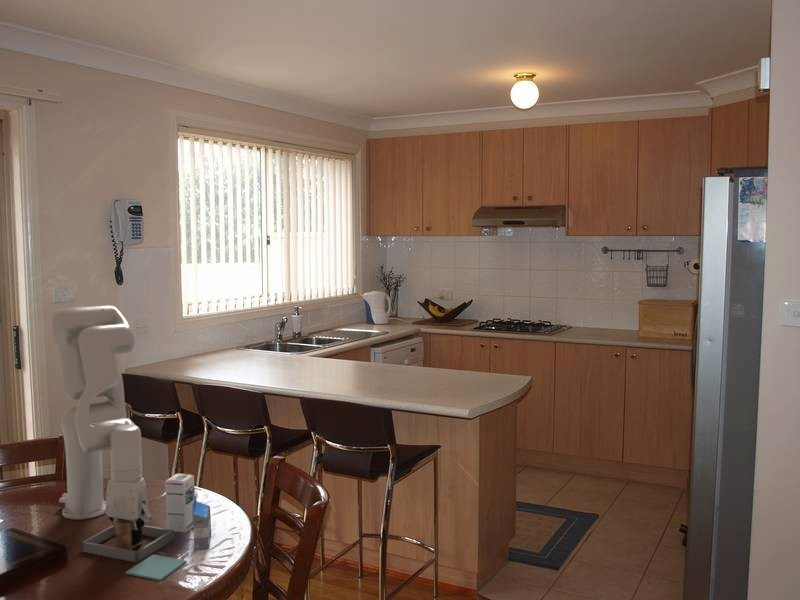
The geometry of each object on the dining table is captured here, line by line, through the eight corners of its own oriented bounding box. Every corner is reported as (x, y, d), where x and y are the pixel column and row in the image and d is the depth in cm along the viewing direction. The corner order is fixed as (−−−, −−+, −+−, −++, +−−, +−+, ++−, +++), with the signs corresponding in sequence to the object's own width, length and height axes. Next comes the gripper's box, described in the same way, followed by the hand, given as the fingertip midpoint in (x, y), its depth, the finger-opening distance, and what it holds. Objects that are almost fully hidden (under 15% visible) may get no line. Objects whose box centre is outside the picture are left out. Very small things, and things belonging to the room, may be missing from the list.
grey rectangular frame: (81, 551, 184) (81, 542, 183) (121, 529, 197) (120, 520, 197) (137, 562, 178) (137, 552, 178) (174, 539, 191) (173, 530, 191)
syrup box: (186, 533, 195) (185, 481, 194) (166, 531, 196) (164, 479, 195) (196, 524, 201) (195, 474, 199) (176, 522, 202) (175, 472, 201)
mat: (125, 573, 172) (125, 571, 172) (153, 556, 181) (153, 554, 181) (160, 580, 169) (160, 578, 169) (186, 562, 178) (186, 560, 178)
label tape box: (209, 549, 185) (208, 503, 184) (192, 550, 185) (191, 504, 183) (211, 535, 194) (210, 491, 193) (196, 536, 193) (195, 492, 192)
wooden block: (115, 547, 186) (115, 521, 185) (127, 540, 190) (127, 515, 190) (130, 550, 185) (129, 524, 184) (141, 543, 189) (141, 517, 188)
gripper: (89, 474, 185) (92, 542, 187) (143, 482, 179) (146, 552, 181) (110, 465, 192) (112, 531, 194) (163, 472, 186) (165, 540, 188)
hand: (128, 540), depth 187 cm, fingers closed on wooden block, 4 cm apart
